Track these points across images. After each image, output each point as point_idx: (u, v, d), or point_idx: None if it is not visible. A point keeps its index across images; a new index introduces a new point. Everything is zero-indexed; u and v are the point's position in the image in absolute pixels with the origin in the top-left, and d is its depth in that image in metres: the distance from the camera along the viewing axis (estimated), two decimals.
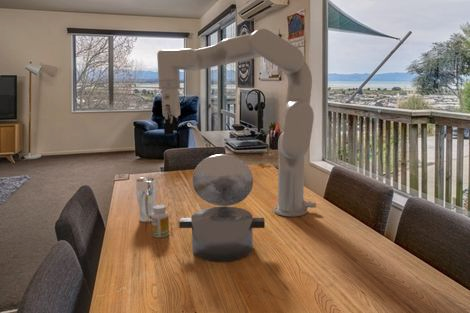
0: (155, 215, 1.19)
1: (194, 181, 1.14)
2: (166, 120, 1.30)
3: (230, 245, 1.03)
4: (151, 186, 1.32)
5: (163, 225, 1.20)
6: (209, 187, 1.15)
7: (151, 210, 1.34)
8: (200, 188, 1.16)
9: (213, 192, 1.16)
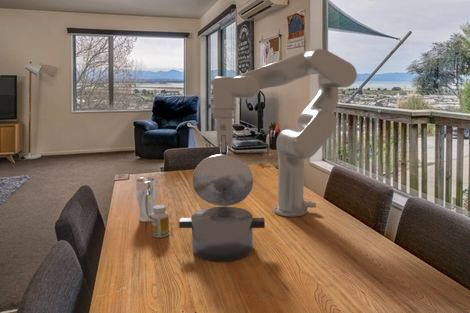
0: (155, 215, 1.19)
1: (194, 181, 1.14)
2: (223, 153, 1.26)
3: (230, 245, 1.03)
4: (151, 186, 1.32)
5: (163, 225, 1.20)
6: (209, 187, 1.15)
7: (151, 210, 1.34)
8: (200, 188, 1.16)
9: (213, 192, 1.16)
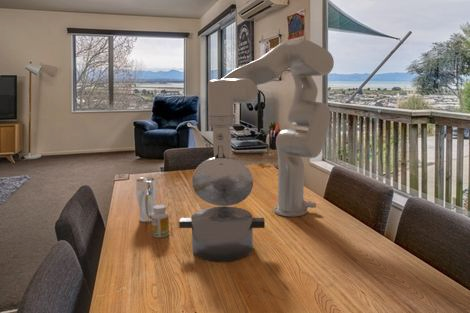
0: (155, 215, 1.19)
1: (194, 183, 1.14)
2: None
3: (230, 245, 1.03)
4: (151, 186, 1.32)
5: (163, 225, 1.20)
6: (209, 188, 1.15)
7: (151, 210, 1.34)
8: (200, 189, 1.15)
9: (213, 192, 1.16)
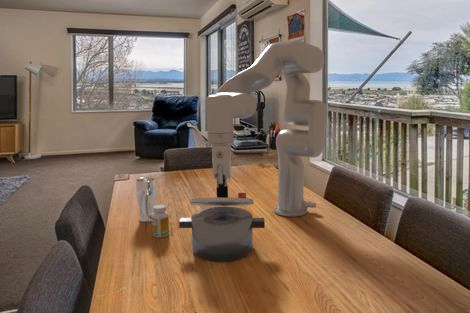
0: (155, 215, 1.19)
1: None
2: (220, 184, 1.07)
3: (230, 245, 1.03)
4: (151, 186, 1.32)
5: (163, 225, 1.20)
6: (208, 204, 1.12)
7: (151, 210, 1.34)
8: (199, 204, 1.12)
9: None
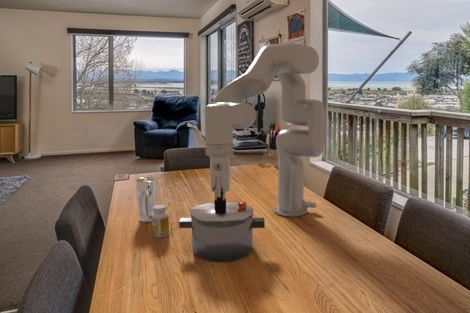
0: (155, 215, 1.19)
1: None
2: (218, 197, 1.03)
3: (230, 245, 1.03)
4: (151, 186, 1.32)
5: (163, 225, 1.20)
6: None
7: (151, 210, 1.34)
8: None
9: None
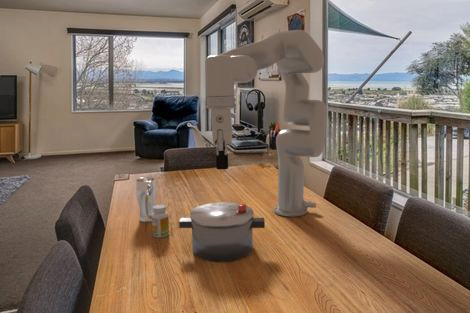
0: (155, 215, 1.19)
1: None
2: (220, 152, 1.01)
3: (230, 245, 1.03)
4: (151, 186, 1.32)
5: (163, 225, 1.20)
6: None
7: (151, 210, 1.34)
8: None
9: None
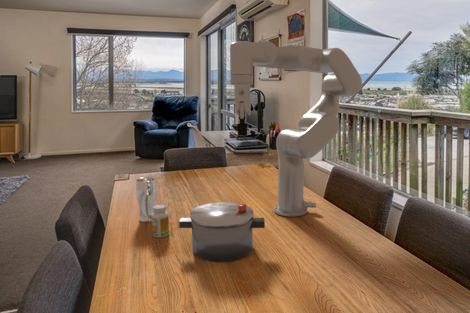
0: (155, 215, 1.19)
1: None
2: (241, 120, 1.24)
3: (230, 245, 1.03)
4: (151, 186, 1.32)
5: (163, 225, 1.20)
6: None
7: (151, 210, 1.34)
8: None
9: None
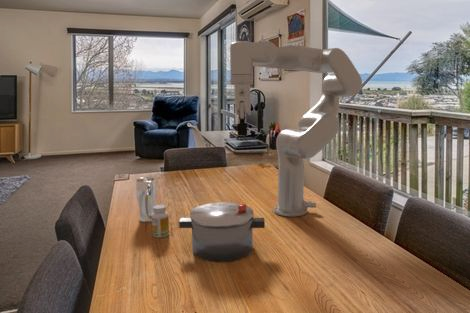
0: (155, 215, 1.19)
1: None
2: (241, 120, 1.24)
3: (230, 245, 1.03)
4: (151, 186, 1.32)
5: (163, 225, 1.20)
6: None
7: (151, 210, 1.34)
8: None
9: None
